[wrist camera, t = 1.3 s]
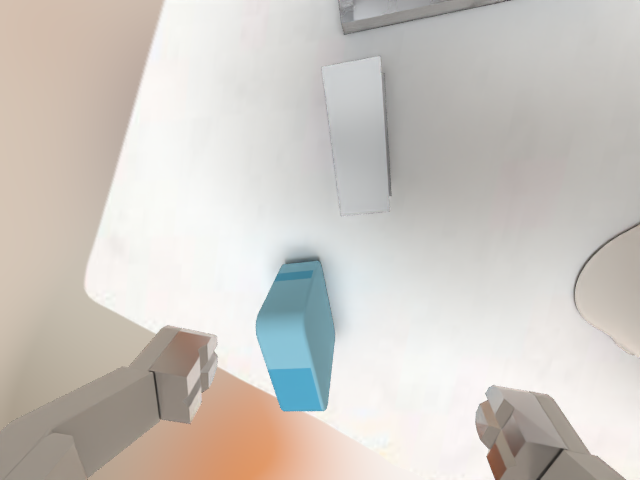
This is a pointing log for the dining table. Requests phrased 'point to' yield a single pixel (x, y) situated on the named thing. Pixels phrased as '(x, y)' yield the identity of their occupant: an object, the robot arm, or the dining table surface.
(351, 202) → the light grey block
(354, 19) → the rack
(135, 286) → the dining table surface
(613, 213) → the dining table surface
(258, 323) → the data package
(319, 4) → the dining table surface
